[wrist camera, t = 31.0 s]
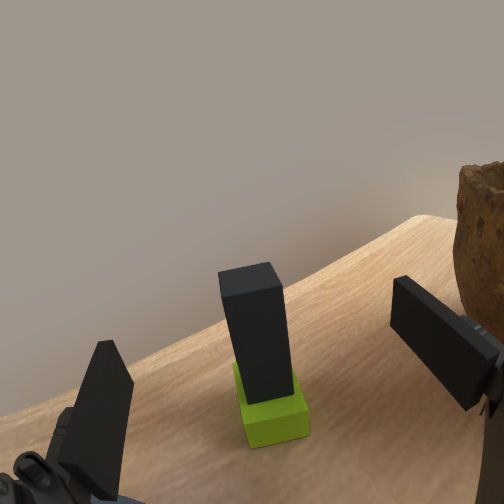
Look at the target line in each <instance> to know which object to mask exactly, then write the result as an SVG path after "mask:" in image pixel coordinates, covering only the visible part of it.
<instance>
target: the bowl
mask: <svg viewBox="0 0 504 504" xmlns="http://www.w3.org/2000/svg"><path fill="white" fill-rule="evenodd" d="M457 212H458V223H457V228H456V234H455V239H454V245H453V260H454V269H455V275H456V281H457V285H458V289H459V293H460V298H461V302H462V304H463V307H464V309H465V311H466V313H467V316H468V317H469V318H471V319H473V320H475V321H476V322H477V323H478V324H480V325H481V327H483V328H485V329H486V330H487V332H489V333H491V334H492V335H493V336H494V337H495V338H497V339H498V340H499V341H500V342H501V343H502V344H504V162H502V163H499V162H498V161H497V162H493V163H491V164H485V165H483V166H478V165H472V166H471V165H465V166H463V167H462V169H461V171H460V173H459V190H458V195H457Z"/></svg>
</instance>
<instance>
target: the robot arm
mask: <svg viewBox="0 0 504 504" xmlns="http://www.w3.org/2000/svg"><path fill="white" fill-rule="evenodd" d="M390 327H391V328H392V329H393V330H394V331H395V332H396V333H397V334H398V335H399V336H400V337H401V338H402V340H403V341H404V342H405V343H406V344H407V345H408V346H409V347H410V348H411V349H412V350H413V352H414V353H415V354H416V355H417V356H418V357H419V358H420V359H421V361H422V362H423V363H424V364H425V365H426V366H427V367H428V368H429V370H430V371H431V372H432V373H433V374H434V375H435V376H436V377H437V379H438V380H439V381H440V382H441V383H442V384H443V386H444V387H445V388H446V389H447V390H448V391H449V392H450V394H451V395H452V396H453V397H454V398H455V400H456V401H457V402H458V403H459V404H460V405H461V407H462V408H463V409H464V410H465V411H467V410H469V409H470V408H472V407H473V406H475V405H476V404H478V403H479V401H480V399H481V397H482V395H483V393H484V394H485V395H486V396H487V399H486V401H485V403H484V405H483V407H482V409H481V411H480V414H479V415H480V416H482V414H483V412H484V410H485V429H484V443H483V454H482V463H481V471H480V478H479V484H478V490H477V496H476V501H475V504H504V344H502V343H501V342H500V341H499V340H498V339H497V338H495V337H494V336H493V335H492V334H491V333H489V332H487V330H486V329H485V328H483V327H481V325H480V324H478V323H477V322H476V321H475V320H473V319H471V318H469V317H467V316H464V315H462V316H460V317H459V316H458V315H457V314H456V313H454V312H453V311H452V310H451V309H449V308H448V307H447V306H446V305H444V304H443V303H442V302H441V301H439V300H438V299H437V298H435V297H434V296H433V295H432V294H430V293H429V292H428V291H426V290H425V289H424V288H423V287H421V286H420V285H419V284H417V283H416V282H415V281H413V280H412V279H411V278H409V277H408V276H407V275H405V276H402V277H398V278H395V279H394V281H393V297H392V309H391V320H390ZM133 388H134V382H133V380H132V378H131V376H130V374H129V373H128V371H127V369H126V367H125V364H124V362H123V360H122V358H121V356H120V354H119V352H118V350H117V348H116V346H115V343H114V341H113V340H107V341H100V342H98V343H97V346H96V349H95V351H94V353H93V356H92V358H91V361H90V364H89V366H88V369H87V371H86V374H85V377H84V379H83V382H82V385H81V388H80V390H79V393H78V396H77V399H76V402H75V405H74V407H66V408H65V410H64V411H63V412H62V413H61V415H60V416H59V418H58V421H57V424H56V428H55V430H54V433H53V435H54V436H52V439H51V442H50V445H49V448H48V452H47V455H46V458H45V460H44V459H43V458H42V457H41V456H40V455H39V454H38V453H36V452H34V451H28V452H25V453H22V454H21V455H20V456H19V457H18V458H17V459H16V461H15V463H14V467H13V470H14V474H15V475H16V476H17V477H18V478H19V480H13V479H12V478H11V477H10V476H9V475H8V474H5V473H0V504H93V503H92V502H91V501H90V500H91V494H92V495H93V496H95V497H96V498H97V499H98V500H101V501H115V502H117V501H118V490H119V481H120V472H121V464H122V456H123V449H124V441H125V435H126V428H127V422H128V416H129V410H130V404H131V398H132V393H133Z"/></svg>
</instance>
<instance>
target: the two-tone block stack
mask: <svg viewBox="0 0 504 504" xmlns="http://www.w3.org/2000/svg"><path fill="white" fill-rule="evenodd" d="M218 277H219V285H220V292H221V298H222V303H223V307H224V312H225V316H226V320H227V324H228V329H229V333H230V337H231V341H232V345H233V349H234V353H235V357H236V361H237V362H233V369H234V375H235V381H236V387H237V393H238V399H239V404H240V410H241V415H242V421H243V426H244V429H245V432H246V435H247V438H248V441H249V445H250V448H251V449H253V448H258V447H263V446H268V445H273V444H277V443H281V442H285V441H289V440H293V439H297V438H301V437H305V436H308V435H310V420H309V408H308V406H307V403H306V401H305V398H304V396H303V393H302V391H301V388H300V386H299V383H298V381H297V378H296V376H295V373H294V371H293V368H292V364H291V355H290V346H289V337H288V328H287V320H286V311H285V303H284V294H283V287H282V284H281V282H280V280H279V278H278V276H277V274H276V272H275V271H274V269H273V267H272V265H271V263H270V262H266V263H261V264H256V265H251V266H246V267H241V268H236V269H231V270H226V271H221V272H218Z"/></svg>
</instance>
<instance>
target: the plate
mask: <svg viewBox="0 0 504 504" xmlns="http://www.w3.org/2000/svg"><path fill="white" fill-rule="evenodd" d="M90 501H91V502H92V503H93V504H145V503H142V502H139V501H136V500H134V499H131V498H128V497H124V496H120V495H118V501H117V502H115V501H101V500H98V499H97V498H96V497H95V496H93V495H92V494H91V500H90Z"/></svg>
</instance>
